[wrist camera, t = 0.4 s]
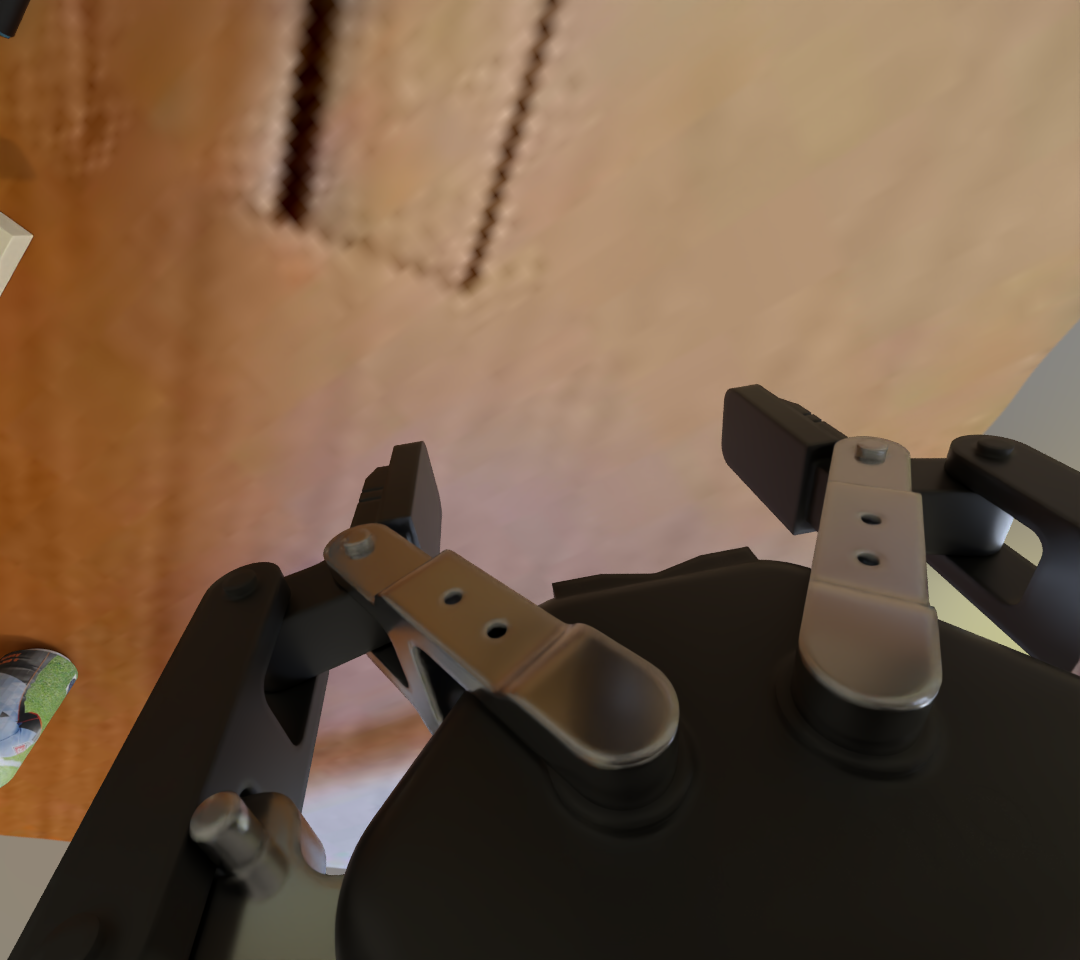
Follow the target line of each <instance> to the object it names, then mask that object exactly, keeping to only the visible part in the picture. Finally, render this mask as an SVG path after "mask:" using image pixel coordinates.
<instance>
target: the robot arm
mask: <svg viewBox="0 0 1080 960" xmlns="http://www.w3.org/2000/svg"><path fill="white" fill-rule="evenodd" d="M722 452H723V456H724V459H725V461H726V463H727V465H728V466H729V467H730V468H731V469H732V470H733V471H734V472H735V473H736V474H737V475H738V476H739V478H740V479H741V480H742V481H743V482H744V483H745V484H746V485H747V486H748V487H749V488H750V489H751V490H752V491H753V492H754V494H755V495H756V496H757V497H758V498H759V499H760V500H761V501H762V502H763V503H764V504H765V505H766V506H767V507H768V508H769V510H770V511H771V512H772V513H773V514H774V515H775V516H776V517H777V518H778V519H779V520H780V521H781V522H782V523H783V524H784V525H785V527H786V528H787V529H788V530H789V531H790V532H791V533H792V534H793V535H798V534H804V533H809V532H814V531H817V532H818V535H817V540H816V545H815V551H814V556H813V561H812V567H811V568H807V567H804V566H801V565H797V564H792V563H788V562H781V561H772V560H758V559H757V557H756V556H755V555H754V554H753V552H752V551H751V550H750V549H749V547H742V548H737V549H732V550H726V551H721V552H716V553H710V554H705V555H700V556H698V557H695V558H693V559H690V560H688V561H685V562H683V563H680V564H678V565H675V566H673V567H670V568H668V569H666V570H663V571H661V572H658V573H652V574H599V575H593V576H588V577H583V578H577V579H572V580H567V581H561V582H556V583H552V586H553V593H554V598H553V599H550V600H548V601H546V602H544V603H542V604H540V605H538V606H537V605H536V604H534V603H532V602H531V601H529V600H528V599H526V598H525V597H523V596H522V595H520V594H519V593H517V592H515V591H514V590H512V589H511V588H509V587H508V586H506V585H505V584H503V583H502V582H500V581H498V580H497V579H495V578H494V577H492V576H491V575H489V574H488V573H486V572H484V571H483V570H481V569H480V568H478V567H477V566H475V565H474V564H472V563H471V562H469V561H467V560H466V559H464V558H463V557H461V556H460V555H458V554H457V553H455V552H453V551H451V550H444V551H442V552H441V553H440V538H441V520H442V510H441V502H440V497H439V492H438V489H437V485H436V481H435V477H434V474H433V470H432V466H431V463H430V459H429V455H428V452H427V448H426V445H425V443H424V442H423V441H420V442H414V443H408V444H402V445H396V446H394V448H393V452H392V456H391V460H390V464H389V466H383V467H378V468H376V469H375V470H374V471H373V472H372V473H371V474H370V475H369V476H368V477H367V478H366V480H365V483H364V486H363V489H362V493H361V495H360V499H359V503H358V505H357V508H356V511H355V514H354V517H353V520H352V523H351V527H350V529H347V530H345V531H343V532H341V533H340V534H338V535H337V536H335V537H334V538H333V539H332V540H331V541H330V542H329V543H328V544H327V545H326V547H325V549H324V552H323V556H324V559H325V560H324V561H322V562H320V563H318V564H316V565H314V566H312V567H309V568H307V569H304V570H301V571H299V572H296V573H293V574H291V575H288V576H285V577H284V576H283V574H282V572H281V570H280V568H279V567H278V566H277V565H276V564H274V563H270V562H258V563H252V564H249V565H245V566H242V567H240V568H237V569H235V570H233V571H231V572H229V573H227V574H226V575H224V576H223V577H221V578H220V579H218V580H217V581H216V582H215V583H214V584H212V585H211V586H210V588H209V589H208V590H207V591H206V593H205V594H204V596H203V598H202V600H201V602H200V604H199V605H198V607H197V609H196V611H195V613H194V615H193V617H192V618H191V620H190V622H189V624H188V626H187V628H186V630H185V631H184V633H183V635H182V637H181V639H180V641H179V643H178V644H177V646H176V648H175V650H174V652H173V654H172V655H171V657H170V659H169V661H168V663H167V665H166V667H165V668H164V670H163V672H162V674H161V676H160V678H159V680H158V681H157V683H156V685H155V687H154V689H153V691H152V693H151V694H150V696H149V698H148V700H147V702H146V704H145V706H144V707H143V709H142V711H141V713H140V715H139V717H138V718H137V720H136V722H135V724H134V726H133V728H132V730H131V731H130V733H129V735H128V737H127V739H126V741H125V743H124V744H123V746H122V748H121V750H120V752H119V754H118V756H117V757H116V759H115V761H114V763H113V765H112V767H111V769H110V770H109V772H108V774H107V776H106V778H105V780H104V782H103V783H102V785H101V787H100V789H99V791H98V793H97V794H96V796H95V798H94V800H93V802H92V804H91V806H90V807H89V809H88V811H87V813H86V815H85V817H84V819H83V820H82V822H81V824H80V826H79V828H78V830H77V832H76V833H75V835H74V837H73V839H72V841H71V843H70V845H69V846H68V848H67V850H66V852H65V854H64V856H63V857H62V859H61V861H60V863H59V865H58V867H57V869H56V870H55V872H54V874H53V876H52V878H51V880H50V882H49V883H48V885H47V887H46V889H45V891H44V893H43V895H42V896H41V898H40V900H39V902H38V904H37V906H36V908H35V909H34V911H33V913H32V915H31V917H30V919H29V921H28V922H27V924H26V926H25V928H24V930H23V932H22V934H21V936H20V937H19V939H18V941H17V943H16V945H15V946H14V948H13V950H12V952H11V954H10V956H9V958H8V959H7V960H1080V472H1079V471H1077V470H1075V469H1073V468H1071V467H1069V466H1067V465H1065V464H1063V463H1061V462H1059V461H1057V460H1055V459H1053V458H1051V457H1049V456H1047V455H1045V454H1043V453H1041V452H1039V451H1037V450H1036V449H1033V448H1031V447H1030V446H1028V445H1026V444H1023V443H1021V442H1018V441H1015V440H1012V439H1008V438H1004V437H998V436H991V435H966V436H961V437H958V438H956V439H954V440H953V441H952V443H951V445H950V448H949V452H948V455H947V458H910V453H909V451H908V450H907V449H906V448H905V447H903V446H902V445H900V444H898V443H896V442H893V441H890V440H887V439H883V438H878V437H869V436H857V437H847V436H845V435H844V434H842V433H841V432H839V431H838V430H836V429H835V428H833V427H832V426H830V425H829V424H827V423H826V422H824V421H821V419H820V418H818V417H817V416H815V415H814V414H812V415H811V412H809V411H808V410H806V409H805V408H803V407H802V406H800V405H799V404H796V403H793V402H790V401H787V400H784V399H780V398H778V397H777V396H775V395H774V394H772V393H771V392H769V391H768V390H766V389H765V388H763V387H762V386H761V385H759V384H755V385H749V386H743V387H737V388H731V389H728V390H727V392H726V394H725V398H724V411H723V428H722ZM1014 518H1015V519H1016V520H1018V521H1019V522H1021V523H1022V524H1024V525H1025V526H1027V527H1028V528H1030V529H1031V530H1032V531H1034V532H1035V533H1036V535H1037V536H1038V537H1039V539H1040V541H1041V543H1042V547H1043V553H1042V557H1041V560H1040V562H1039V564H1038V566H1035V565H1033V564H1032V563H1031V562H1030V561H1028V560H1027V559H1025V558H1024V557H1023V556H1021V555H1020V554H1019V553H1017V552H1016V551H1014V550H1013V549H1012V548H1010V547H1009V546H1008V545H1006V544H1005V543H1003V542H1004V540H1005V537H1006V535H1007V533H1008V531H1009V528H1010V526H1011V524H1012V521H1013V519H1014ZM926 562H927V563H928V564H929V565H930V566H931V567H932V568H933V569H934V570H936V571H937V572H938V573H939V574H940V575H941V576H942V577H943V578H944V579H946V580H947V581H948V582H949V583H950V584H951V585H952V586H953V587H955V588H956V589H957V590H958V591H959V592H960V593H961V594H962V595H963V596H964V597H966V598H967V599H968V600H969V601H970V602H971V603H972V604H973V605H974V606H976V607H977V608H978V609H979V610H980V611H981V612H982V613H983V614H985V615H986V616H987V617H988V618H989V619H990V620H991V621H992V622H993V623H994V624H996V625H997V626H998V627H999V628H1000V629H1001V630H1002V631H1003V632H1004V633H1005V634H1007V635H1008V636H1009V637H1010V638H1011V639H1012V640H1013V641H1014V642H1015V643H1017V644H1018V645H1019V646H1020V647H1021V648H1022V649H1023V650H1024V651H1026V652H1027V653H1028V654H1029V655H1030V656H1029V655H1026V654H1024V653H1021V652H1019V651H1016V650H1014V649H1011V648H1009V647H1006V646H1004V645H1001V644H998V643H996V642H994V641H991V640H989V639H986V638H984V637H981V636H978V635H976V634H974V633H971V632H969V631H966V630H963V629H961V628H959V627H956V626H954V625H951V624H949V623H946V622H944V621H941V620H939V619H938V617H937V612H936V609H935V608H934V607H933V606H930V603H929V594H928V579H927V566H926ZM363 654H367V656H368V657H369V658H370V659H371V661H372V662H373V663H374V664H375V665H376V666H377V667H378V668H379V669H380V670H381V671H382V672H383V673H384V674H385V675H386V677H387V678H388V679H389V680H390V681H391V682H392V683H393V684H394V685H395V686H396V687H397V688H398V689H399V690H400V691H401V693H402V694H403V695H404V696H405V697H406V698H407V699H408V700H409V701H410V702H411V703H412V705H413V706H414V707H415V709H416V710H417V711H418V713H419V715H420V716H421V718H422V720H423V721H424V723H425V725H426V726H427V728H428V729H429V731H430V732H431V734H432V735H433V736H432V737H431V739H430V740H429V741H428V743H427V744H426V746H425V747H424V748H423V750H422V751H421V752H420V754H419V755H418V757H417V758H416V759H415V761H414V762H413V764H412V765H411V766H410V768H409V769H408V771H407V772H406V773H405V775H404V776H403V778H402V779H401V780H400V782H399V783H398V784H397V786H396V787H395V789H394V790H393V791H392V793H391V794H390V796H389V797H388V798H387V800H386V801H385V803H384V804H383V805H382V807H381V808H380V809H379V811H378V812H377V814H376V815H375V816H374V818H373V819H372V821H371V822H370V824H369V825H368V827H367V828H366V830H365V831H364V833H363V835H362V836H361V838H360V840H359V842H358V844H357V845H356V847H355V850H354V852H353V854H352V856H351V859H350V861H349V864H348V866H347V869H346V872H345V874H343V875H327V874H326V855H325V850H324V847H323V845H322V843H321V841H320V840H319V838H318V837H317V835H316V834H315V833H314V831H313V830H312V828H311V827H310V825H309V824H308V823H307V821H306V820H305V818H304V817H303V815H302V814H301V813H302V807H303V802H304V797H305V792H306V787H307V782H308V777H309V772H310V767H311V762H312V757H313V752H314V746H315V741H316V736H317V731H318V726H319V721H320V716H321V711H322V706H323V701H324V696H325V691H326V685H327V680H328V675H329V670H330V669H332V668H335V667H337V666H339V665H341V664H343V663H346V662H348V661H350V660H352V659H355V658H357V657H359V656H361V655H363Z"/></svg>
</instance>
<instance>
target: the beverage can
mask: <svg viewBox="0 0 1080 960" xmlns="http://www.w3.org/2000/svg"><path fill="white" fill-rule="evenodd" d="M77 677H78V672H77V669H76V667H75V666H74V665H73V664H72V663H71V661H70V660H69V659H68V658H67V657H65V656H64V655H62V654H60V653H58V652H55V651H51V650H47V649H27V650H19V651H14V652H11V653H9V654H7V655H5V656H4V657H2V658H1V660H0V787H2V786H4V785H5V784H7V783H8V782H9V781H10V780H11V779H12V778H13V776H14V775H15V773H16V772H17V770H18V769H19V767H20V766H21V764H22V763H23V761H24V760H25V758H26V756H27V755H28V753H29V752H30V750H31V749H32V747H33V746H34V744H35V743H36V741H37V740H38V738H39V736H40V735H41V733H42V732H43V730H44V729H45V727H46V726H47V724H48V723H49V721H50V720H51V718H52V716H53V715H54V713H55V712H56V710H57V709H58V707H59V706H60V704H61V703H62V701H63V700H64V698H65V697H66V695H67V693H68V692H69V690H70V689H71V687H72V686H73V684H74V683H75V681H76V679H77Z"/></svg>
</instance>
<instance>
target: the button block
mask: <svg viewBox="0 0 1080 960" xmlns="http://www.w3.org/2000/svg"><path fill="white" fill-rule="evenodd" d="M32 238H33V235H32V234H31V233H29V232H28V231H26V230H25V229H24V228H22V227H21V226H20V225H18V224H17V223H15V222H14V221H13V220H11V219H10V218H8V217H7V216H6V215H4V214H3V213H1V212H0V296H1V294H2V292H3V290H4V288H5V287H6V285H7V283H8V281H9V279H10V277H11V276H12V274H13V272H14V270H15V268H16V267H17V265H18V263H19V261H20V259H21V258H22V256H23V254H24V252H25V250H26V248H27V247H28V245H29V243H30V241H31V239H32Z"/></svg>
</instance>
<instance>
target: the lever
mask: <svg viewBox="0 0 1080 960" xmlns="http://www.w3.org/2000/svg"><path fill="white" fill-rule="evenodd" d="M29 2H30V0H0V32H1V33H3V34H5V35H7V36H10V37H13V36H14V35H15V33H16V31H17V29H18V26H19V24H20V22H21V20H22V17H23V15H24V13H25V11H26V9H27V6H28V4H29Z"/></svg>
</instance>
